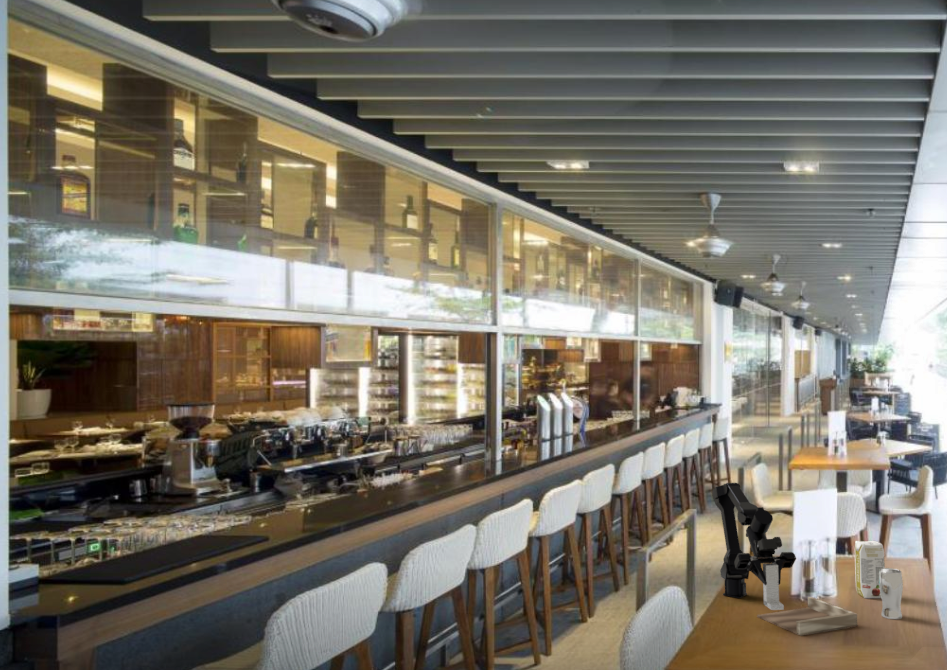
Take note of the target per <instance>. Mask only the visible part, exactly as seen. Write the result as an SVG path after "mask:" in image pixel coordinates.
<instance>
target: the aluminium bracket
mask: <svg viewBox="0 0 947 670" xmlns="http://www.w3.org/2000/svg"><path fill="white" fill-rule="evenodd" d="M762 570H763V573H764V575H765V578H766V582H767V584H766V585H764V584H763V583H762V585H763V586H762V588H763V589H762V590H763V605H764V606H765V607H767V608H768V609H769V610H770V611H780V610H781V611H785V609H784V608H785V605H784V604H783V603H782V602H781V601H780V589H779V588H780V585H779V577H778V565H777V564H775V563H762Z"/></svg>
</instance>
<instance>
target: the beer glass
mask: <svg viewBox="0 0 947 670" xmlns="http://www.w3.org/2000/svg"><path fill="white" fill-rule="evenodd" d="M902 575H903V572H902V571H901V570H900V569H897V568H892V567H890V568H889V567H885V568H881V569H879V588H880V593H881V598H880V599H881V601H882V602H881V603H882V605H881V606H882V609H881V614H880V615H881V617H883V618H884V619H888V620H902V619H903V615H902V609H901V604H902V603H901V602H902V598H903V597H902V596H903V588H904V587H903V585H904V584H903V581H904V580H903V576H902Z"/></svg>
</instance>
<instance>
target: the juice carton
mask: <svg viewBox="0 0 947 670" xmlns="http://www.w3.org/2000/svg"><path fill="white" fill-rule="evenodd" d="M885 565H886V564H885V550H884V545H883V544H882V543H881V542H880V541H876V540H868V541H865V540H864V541H863V540H855V542H854V568H855V569H854V572H855V575H854V576H855V590H856V593H857V594H858V595H859V596H860V597H862V598H863V599H882V598H881V593H880V588H879V569H881V568H886V566H885Z"/></svg>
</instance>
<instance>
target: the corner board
mask: <svg viewBox="0 0 947 670" xmlns="http://www.w3.org/2000/svg"><path fill="white" fill-rule="evenodd" d="M756 617H757V618H758V619H761V620H763V621H766V622H768V623H771V624H773V625H774V626H777V627H779V628H781V629H783V630H787V632H788V631H789V632H790V633H793V634H795V635H798V636H799V635H800V636H799V637H801V636H808V635H812V634H813V635H814V634H820V633H825V632H831V631H839V630H845V629H849V628H850V627H851V628H856V626H857V627H858V613H856V612H854V611H851V610H848V609H846V608H842V607H840V606H837V605H834V604H831V603H829V602H826V601H824V600H821V599H818V598H815V597H813V596H808V597H807V606H806V607H802V608H795V609H789V610H781V611H776V612H774V611H773V612H770V613H769V612H768V613H763V614H756Z"/></svg>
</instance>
